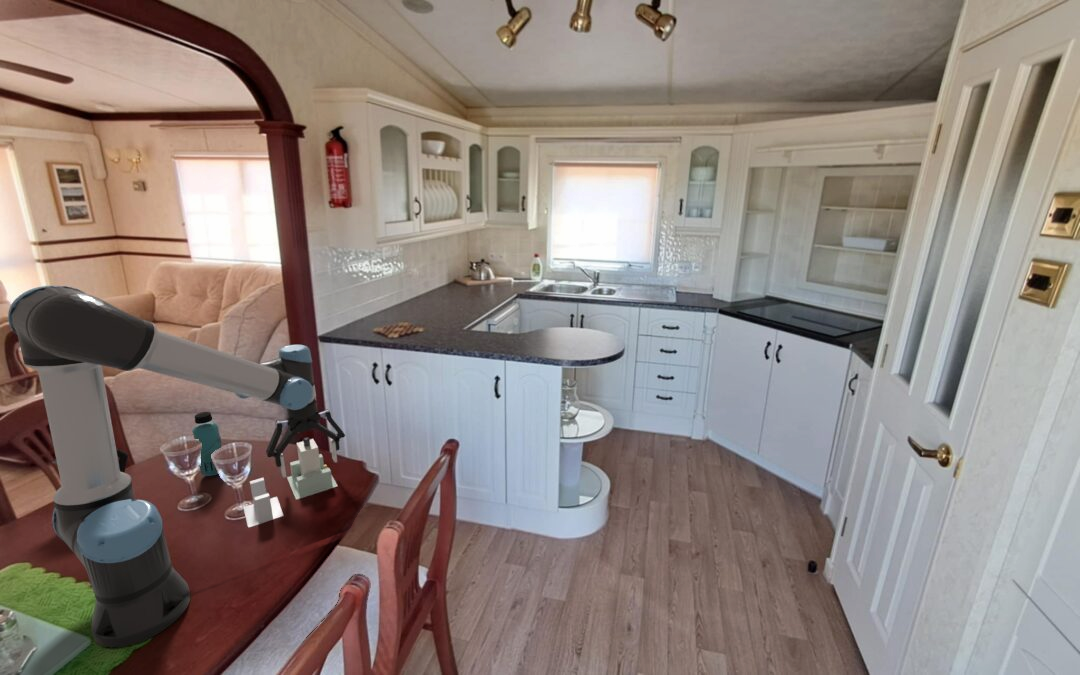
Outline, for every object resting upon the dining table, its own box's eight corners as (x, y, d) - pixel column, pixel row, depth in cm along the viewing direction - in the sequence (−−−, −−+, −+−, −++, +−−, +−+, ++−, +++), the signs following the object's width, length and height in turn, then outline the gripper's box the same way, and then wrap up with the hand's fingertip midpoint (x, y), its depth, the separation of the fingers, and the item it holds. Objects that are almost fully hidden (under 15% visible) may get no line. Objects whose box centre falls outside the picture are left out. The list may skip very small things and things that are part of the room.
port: (338, 489, 136) (336, 470, 135) (296, 502, 130) (293, 483, 128) (326, 468, 146) (324, 451, 144) (287, 480, 140) (284, 462, 138)
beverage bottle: (203, 483, 137) (190, 421, 131) (199, 473, 142) (186, 413, 136) (229, 475, 141) (218, 414, 136) (225, 466, 146) (213, 407, 140)
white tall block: (322, 484, 137) (317, 441, 133) (306, 489, 134) (300, 445, 130) (317, 474, 141) (312, 432, 137) (301, 479, 139) (295, 436, 135)
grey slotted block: (284, 518, 123) (280, 492, 121) (248, 530, 119) (243, 503, 116) (277, 499, 131) (273, 474, 129) (243, 510, 126) (239, 484, 124)
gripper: (344, 386, 140) (350, 449, 146) (247, 406, 126) (258, 475, 132) (351, 394, 135) (358, 459, 141) (251, 416, 120) (263, 488, 126)
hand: (310, 467), depth 136 cm, fingers open, 13 cm apart
